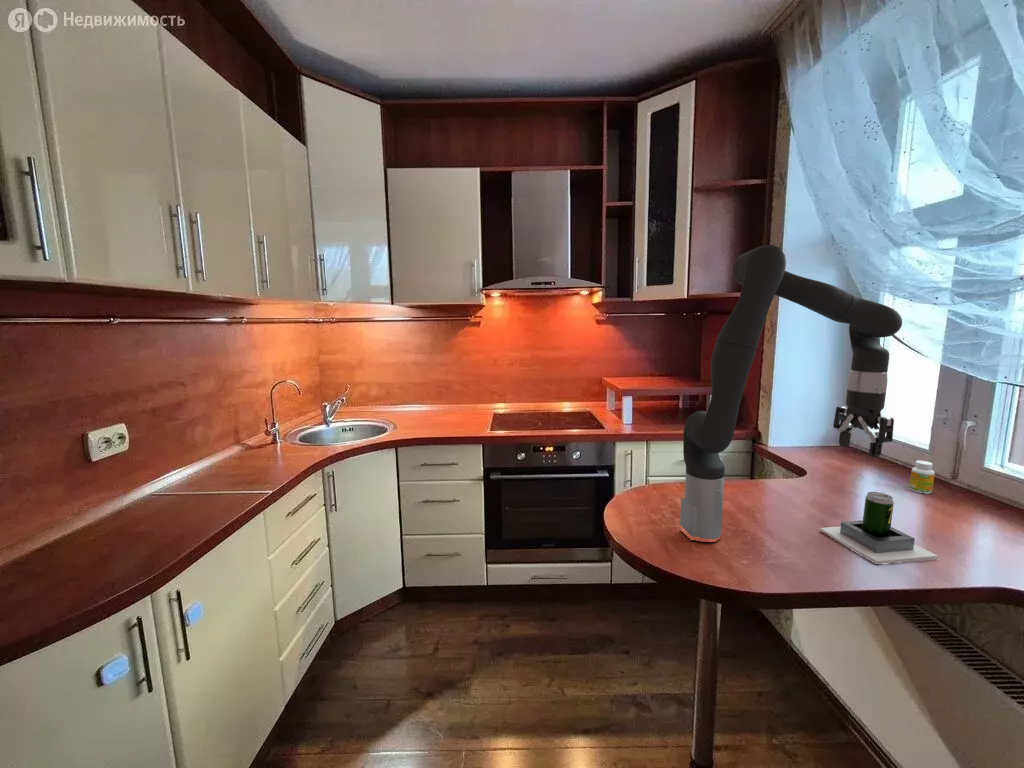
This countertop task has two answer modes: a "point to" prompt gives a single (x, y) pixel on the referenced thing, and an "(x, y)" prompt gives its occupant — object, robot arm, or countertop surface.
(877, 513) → the beer can
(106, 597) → the countertop surface
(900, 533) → the can collar
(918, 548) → the holder plate
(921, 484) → the supplement bottle
